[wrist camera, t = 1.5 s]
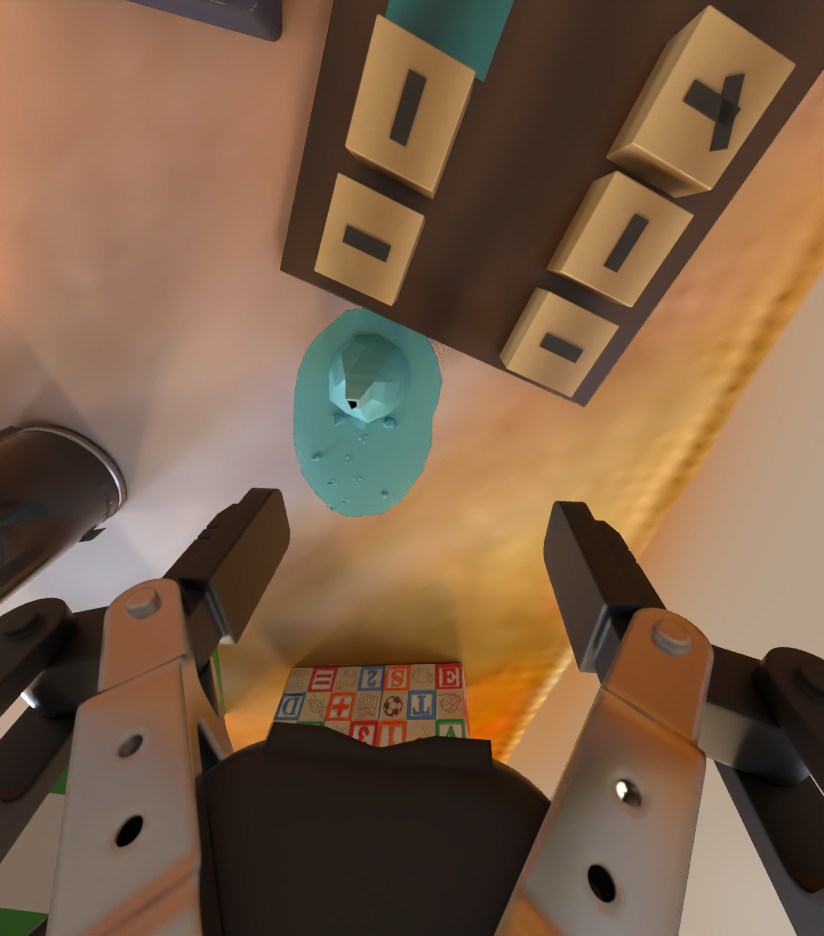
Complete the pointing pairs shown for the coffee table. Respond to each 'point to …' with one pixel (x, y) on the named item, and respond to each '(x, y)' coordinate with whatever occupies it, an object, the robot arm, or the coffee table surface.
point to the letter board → (511, 172)
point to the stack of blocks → (379, 701)
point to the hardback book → (38, 860)
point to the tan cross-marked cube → (699, 105)
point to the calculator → (229, 14)
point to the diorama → (365, 412)
